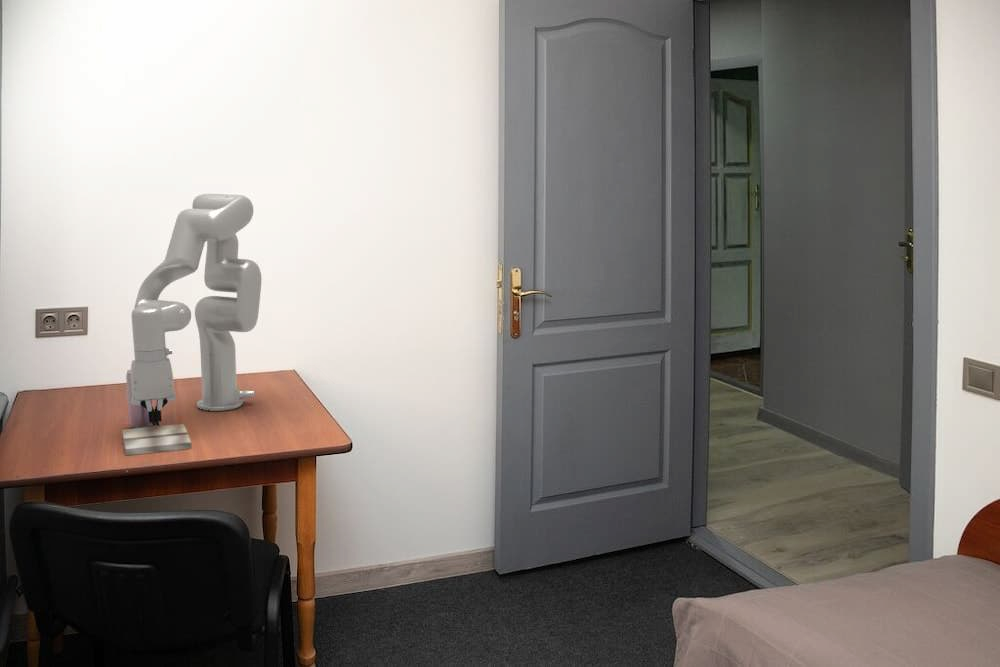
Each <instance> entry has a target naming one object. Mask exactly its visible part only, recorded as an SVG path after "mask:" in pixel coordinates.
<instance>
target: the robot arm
mask: <svg viewBox="0 0 1000 667" xmlns="http://www.w3.org/2000/svg"><path fill="white" fill-rule="evenodd" d="M191 206H192V208H187V209H184V210H182V211H180V212H179V213H178V215H177V217H176V220H175V222H174V227H173V230H172V234H171V236H170V240H169V244H168V247H167V250H166V255H165V257H164V260H163V261H162V262H161V263H160V264H159V265H158V266H156V267H155V268H154V269H153V270H152V271H151V272H150V273H149V274H148V275H147V276H146V278H145V279H144V280H143V282H141V285H140V287H139V289H138V293H137V297H136V299H135V304H134V309H132V311H131V325H132V327H131V329H132V339H133V340H132V341H133V351H134V352H133V353H134V359H133V360H131V364H130V366H131V367H130V369H131V392H132V400H131V403H132V404H133V405H141V406H143V407H144V408H145V409H147V410H148V414H149V423H150V422H152V425H151V426H152V427H156V426H160V422H162V409H163V408H164V407H165V406H166V404H169V403H170V402H174V401H176V400H177V397H176V394H175V382H174V374H173V369H172V364H171V359H170V358H169V357H168V356H170V355H172V354H173V350H172V348H167V347H166V332H175V331H176V332H177V331H181V330H184V329H185V328H186V327H187V326H188V325H189V323H191V319H192V313H191V312H192V311H191V309H190V308H189V306H187V304H185V303H183V302H180V301H173V300H171V301H170V300H163V299H159V298H160V295H161V294H162V292H163V291H164V290H165V289H166V287H168V286H169V285H170V284H172V283H174V282H176V281H177V280H180V279H183V278H185V277H187V276H189V275H191V274H194V273H195V272H196V271H197V270H198V269H199V265H200V262H201V258H202V254H203V251H204V247H205V244H206V254H205V262H204V277H203V278H204V284H205V287H206V288H207V289H209V290H211V291H214V292H221V293H223V292H224V293H232V294H233V293H236V297H231V296H221V295H219V296H218V295H210V296H208V295H207V296H204V297H203V298H200V299H199V301H197V303H196V305H195V307H194V318H195V322H196V326H197V331H198V337H199V349H200V370H201V392H202V395H201V396H202V399H199V400H198V401H197V402H196V407H197V408H198V409H199V408H200V409H199V410H202V409H203V411H208V410H209V412H210V411H211V412H219V411H220V412H221V411H230V410H234V409H237V408H240V407H241V405H242V406H243V404H244V403H243V402H244V401H243V399H244V398H247V399H249V398H254V397H255V392H254V390H248V389H246V390H245V389H244V390H240V389H239V388H238V385H237V364H236V362H237V360H236V343H235V340H234V337H233V336H232V334H231V332H233V333H235V332H236V333H248V332H251V331H252V330H253V329H254V328H255V327H256V325H257V322H258V319H259V318H258V317H259V312H260V311H259V310H260V302H261V301H260V300H261V292H262V273H261V269H260V267H259V265H258V264H257V263H256V262H255V261H253V260H251V259H245V258H239V239H238V235H237V233H238V232H240V231H241V230H242V229H244V228H245V227H246V226H247V225H249V223H250V222H251V220H252V219H253V216H254V205H253V203H252V201H251V199H250V198H248V197H247V196H245V195H242V194H224V193H223V194H222V193H202V194H199V195H197V196H195V197H194V199H193V201H192V204H191ZM144 400H145V401H144ZM150 400H152V401H153V400H156V403H155V404H156V405H155V408H154V407H153V404H152V405H151V401H150Z"/></svg>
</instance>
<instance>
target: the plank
mask: <svg viewBox="0 0 1000 667" xmlns="http://www.w3.org/2000/svg"><path fill="white" fill-rule="evenodd" d="M121 432H122V434H121V435H122V442H123V443H124V441H127V440H137V439H147V438H157V437H167V436H177V435H186V434H188V430H187V428H186V426H185V423H180V424H179V423H177V424H169V425H159V426H157V425H155V426H150V427H146V428H128V429H127V428H125V429H121Z"/></svg>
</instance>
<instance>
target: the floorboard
mask: <svg viewBox="0 0 1000 667" xmlns="http://www.w3.org/2000/svg"><path fill="white" fill-rule="evenodd" d="M190 438H191V437H190V436H189V433H187V434H186V435H177V436H167V437H157V438H147V439H137V440H127V441H124V442H123V447H124V453H125V456H134V455H144V454H145V455H146V454H154V453H162V452H171V451H182V450H190V449H192V441H191V439H190Z"/></svg>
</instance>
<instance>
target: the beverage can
mask: <svg viewBox="0 0 1000 667" xmlns="http://www.w3.org/2000/svg"><path fill="white" fill-rule="evenodd" d="M126 395H127V396H126V397H127V409H128V410H127V411H128V425H129V426H130V427H131V429H135V428H146V427H152V426H153V425H152V422H150V423H149V414H148V410H147V409H145V408H144V407H143V406H141V405H133V404H132V403H131V400H132V392H131V368H130V369H128V370H127V371H126ZM144 401H145V400H144ZM150 401H151V405H152V406H153V400H150Z"/></svg>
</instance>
